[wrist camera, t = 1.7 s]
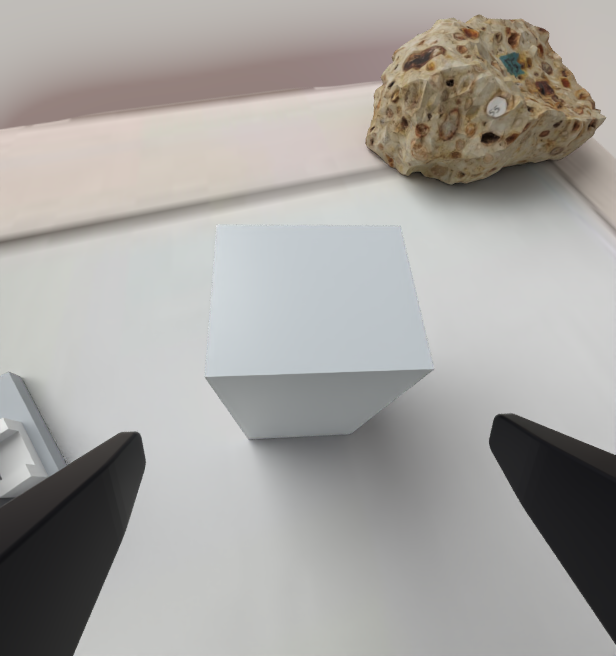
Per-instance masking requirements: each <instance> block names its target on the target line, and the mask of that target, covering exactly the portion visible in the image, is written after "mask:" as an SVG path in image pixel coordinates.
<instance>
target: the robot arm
mask: <svg viewBox="0 0 616 656" xmlns="http://www.w3.org/2000/svg"><path fill="white" fill-rule="evenodd" d="M489 445H490V449H491V451H492V453H493V455H494V456H495V458H496V460H497V462H498V464H499V465H500V467H501V469H502V471H503V473H504V474H505V476H506V478H507V480H508V482H509V483H510V485H511V487H512V489H513V491H514V492H515V494H516V496H517V498H518V499H519V501H520V503H521V505H522V506H523V508H524V509H525V511H526V512H527V514H528V515H529V517H530V518H531V520H532V521H533V523H534V524H535V526H536V527H537V529H538V530H539V532H540V533H541V535H542V536H543V538H544V539H545V541H546V542H547V544H548V545H549V546H550V548H551V549H552V551H553V552H554V554H555V555H556V557H557V558H558V560H559V561H560V563H561V564H562V566H563V567H564V569H565V570H566V572H567V573H568V575H569V576H570V578H571V579H572V581H573V582H574V584H575V585H576V586H577V588H578V589H579V591H580V592H581V594H582V595H583V597H584V598H585V600H586V601H587V603H588V604H589V606H590V607H591V609H592V610H593V612H594V613H595V615H596V616H597V618H598V619H599V621H600V622H601V624H602V625H603V626H604V628H605V629H606V631H607V632H608V634H609V635H610V637H611V638H612V640H613V641H614V643H615V644H616V455H614V454H611V453H609V452H606V451H604V450H601V449H599V448H596V447H594V446H592V445H589V444H587V443H584V442H582V441H579V440H577V439H574V438H572V437H569V436H567V435H565V434H562V433H560V432H557V431H555V430H552V429H550V428H547V427H545V426H542V425H540V424H538V423H535V422H533V421H530V420H528V419H525V418H523V417H520V416H518V415H515V414H511V413H510V414H498V415H496V416H495V418H494V421H493V425H492V429H491V434H490V438H489ZM145 465H146V459H145V454H144V449H143V443H142V438H141V435H140V433H138V432H121V433H118V434H117V435H115V436H114V437H112V438H110V439H109V440H107V441H106V442H104V443H102V444H101V445H99V446H98V447H96V448H94V449H93V450H91V451H90V452H88V453H86V454H85V455H83V456H82V457H80V458H78V459H77V460H75V461H73V462H72V463H70V464H69V465H67V466H65V467H64V468H62V469H61V470H59V471H57V472H56V473H54V474H53V475H51V476H49V477H48V478H46V479H45V480H43V481H41V482H40V483H38V484H37V485H35V486H33V487H32V488H30V489H29V490H27V491H25V492H24V493H22V494H21V495H19V496H17V497H16V498H14V499H12V500H11V501H9V502H8V503H6V504H4V505H3V506H1V507H0V656H73V655H74V652H75V650H76V648H77V645H78V643H79V640H80V638H81V636H82V633H83V631H84V629H85V626H86V624H87V622H88V619H89V617H90V615H91V612H92V610H93V608H94V605H95V603H96V601H97V598H98V596H99V593H100V591H101V589H102V586H103V584H104V582H105V579H106V577H107V575H108V572H109V570H110V568H111V565H112V563H113V561H114V558H115V556H116V554H117V551H118V549H119V546H120V544H121V542H122V539H123V536H124V534H125V531H126V528H127V525H128V522H129V519H130V516H131V512H132V509H133V506H134V503H135V499H136V496H137V493H138V490H139V486H140V483H141V480H142V477H143V474H144V470H145Z"/></svg>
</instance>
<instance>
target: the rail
mask: <svg viewBox="0 0 616 656" xmlns="http://www.w3.org/2000/svg"><path fill="white" fill-rule="evenodd" d="M65 466H67V464H66V462H65V460H64V458H63V457H62V455H61V453H60V451H59V449H58V447H57V445H56V443H55V441H54V439H53V437H52V436H51V434H50V432H49V430H48V428H47V426H46V424H45V422H44V420H43V418H42V416H41V415H40V413H39V411H38V409H37V407H36V405H35V403H34V401H33V399H32V397H31V395H30V394H29V392H28V390H27V388H26V386H25V384H24V382H23V380H22V378H21V377H20V376H18V375H15V374H13V373H11V372H6V373H5V374H3V375H1V376H0V507H1V506H3V505H4V504H6V503H8V502H9V501H11V500H12V499H14V498H16V497H17V496H19V495H21V494H22V493H24V492H25V491H27V490H29V489H30V488H32V487H33V486H35V485H37V484H38V483H40V482H41V481H43V480H45V479H46V478H48V477H49V476H51V475H53V474H54V473H56V472H57V471H59V470H61V469H62V468H64V467H65Z"/></svg>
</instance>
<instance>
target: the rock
mask: <svg viewBox="0 0 616 656" xmlns="http://www.w3.org/2000/svg"><path fill="white" fill-rule="evenodd" d="M548 39H549V32H548V31H546V30H545V29H543V28H540V27H536V26H533V25H531V24H529V23H527V22H526V21H524V20H523V19H513V20H502V19H487V18H485V17H484V16H482V15H477V16H474V17H473V18H471V19H470V20H469V21H467V22H466V23H463V22H461V21H460V20H458V21H457V20H456V19H455V18H450V19H442V20H437V21H436V23H435V24H434V25H433V27H432V28H431V29H430V30H428V31H426V32H425V33H422V34H421V35H417V36H416V37H415V38H413V39H412V40H410V41H409V42H407V43H406V44H404V45H403V46H402V47H400V48H399V49H398V50H396V51H395V52H394V54H393V56H392V59H393V63H392V64H390V65H389V67H388V68H387V69H386V70H385V71H384V73H383V74H382V76H381V79H382V81H383V85H382V86H380V87H379V88H378V89H376V91H375V93H374V116H373V120H371V126H370V128H369V129H368V133H367V137H366V143H365V144H366V145H367V147H368V148H369V149H371V150H372V151H374V152H375V153H376V154H377V155H378V156H380V157H381V158H382V159H383V160H384V161H385V162H386V163H387V164H388V165H389V166H390V167H392V168H396V169H397V170H398V171H399V173H401V174H403V175H406V176H409V175H410V174H411V173H412V172H421V173H422V174H423V175H424V176H425V177H428V178H436V179H439V180H440V181H442V182H445V183H447V184H454V183H455V182H456V183H459V182H462V183H465V184H466V183H469V182H472V181H476V180H480V179H484V178H486V177H488V176H491V175H492V174H494V173H496V172H498V171H499V170H500V169H501V168H503V167H507V166H512V165H516V164H525V163H527V162H533V163H537V162H541V161H544V160H548V159H552V160H560V159H563V158H564V157H566V156H567V155H568V154H570V153H571V152H573V151H574V150H576V149H577V148H578V147H580V146H581V145H582V144H583V143H585V142H586V141H587V140H588V139H589V138H591V137H592V136H593V135H594V133H595V130H596V129H597V128H598V127H599V126H600V125H601V124H602V123H603V122H604V120H605V119H606V117H605V116H603V115H601V114H600V111H601V110H598V109H595V102H594V101H593V100H592V98H591V96H590V94H589V93H588V92H587V91H586V90H585V89H584V88H582V87H581V86H580V85H579V84H577V82H576V79H575V77H574V75H573V73H572V72H571V71H570V70H569V69H568V68H567V67H566V66H564V65H563V64H562V58H561V57H560V56H559V55H558V54H557V53H555V52H554V51H553V50H552V48H551V47H550V45H549V43H548Z"/></svg>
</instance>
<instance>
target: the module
mask: <svg viewBox="0 0 616 656" xmlns="http://www.w3.org/2000/svg"><path fill="white" fill-rule="evenodd" d="M432 370H434V365H433V361H432V357H431V353H430V348H429V344H428V340H427V336H426V331H425V327H424V323H423V319H422V314H421V310H420V306H419V301H418V297H417V293H416V289H415V284H414V280H413V276H412V272H411V267H410V263H409V259H408V255H407V250H406V246H405V242H404V238H403V233H402V229H401V226H369V225H217V227H216V240H215V252H214V265H213V278H212V290H211V303H210V315H209V328H208V341H207V353H206V366H205V378H206V380H207V381H208V383H209V384H210V385H211V387H212V388H213V390H214V391H215V393H216V394H217V395H218V397H219V398H220V400H221V401H222V402H223V404H224V405H225V407H226V408H227V410H228V411H229V412H230V414H231V415H232V417H233V418H234V420H235V421H236V422H237V424H238V425H239V427H240V428H241V430H242V431H243V432H244V434H245V435H246V437H247V438H248V439H266V438H285V437H304V436H324V435H343V434H351V433H353V432H354V431H355V430H356V429H358V428H359V427H360V426H362V425H363V424H364V423H365V422H367V421H368V420H369V419H371V418H372V417H373V416H374V415H376V414H377V413H378V412H380V411H381V410H382V409H383V408H385V407H386V406H387V405H389V404H390V403H391V402H393V401H394V400H395V399H396V398H398V397H399V396H400V395H402V394H403V393H404V392H405V391H407V390H408V389H409V388H411V387H412V386H413V385H414V384H416V383H417V382H418V381H420V380H421V379H422V378H423V377H425V376H426V375H427V374H429V373H430V372H431V371H432Z"/></svg>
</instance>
